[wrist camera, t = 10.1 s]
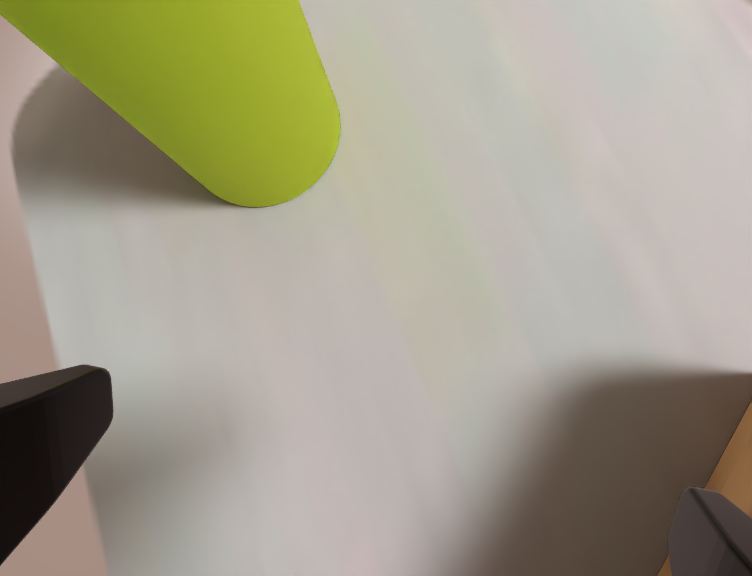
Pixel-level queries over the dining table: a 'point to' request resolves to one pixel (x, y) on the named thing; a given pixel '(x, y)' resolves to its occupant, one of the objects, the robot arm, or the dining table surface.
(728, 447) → the wooden box
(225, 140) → the soap dispenser
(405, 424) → the dining table surface
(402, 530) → the dining table surface
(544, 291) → the dining table surface
